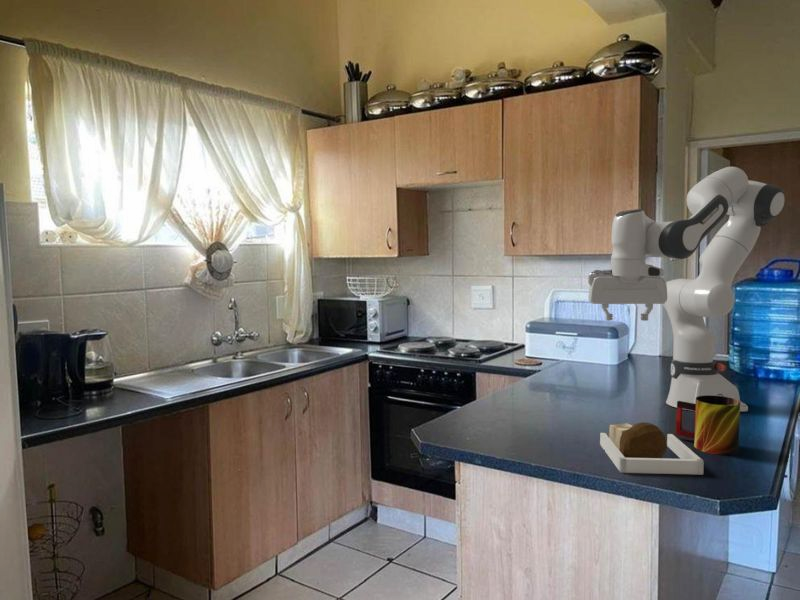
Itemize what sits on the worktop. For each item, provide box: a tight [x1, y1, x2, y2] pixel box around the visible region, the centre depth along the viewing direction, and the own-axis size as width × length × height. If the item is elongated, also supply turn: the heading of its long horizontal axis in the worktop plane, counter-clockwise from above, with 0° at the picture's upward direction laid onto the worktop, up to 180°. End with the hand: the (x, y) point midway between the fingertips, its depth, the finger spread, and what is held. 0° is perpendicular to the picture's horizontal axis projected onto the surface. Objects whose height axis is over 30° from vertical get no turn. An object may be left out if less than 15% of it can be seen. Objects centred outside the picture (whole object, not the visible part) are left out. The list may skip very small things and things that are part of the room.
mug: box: [675, 395, 741, 456], centre depth 150 cm, size 10×14×12 cm
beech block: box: [608, 422, 633, 449], centre depth 152 cm, size 5×5×5 cm
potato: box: [619, 422, 668, 458], centre depth 142 cm, size 8×12×9 cm
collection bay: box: [599, 432, 705, 476], centre depth 143 cm, size 17×19×3 cm
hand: (626, 320), depth 168 cm, fingers open, 8 cm apart
